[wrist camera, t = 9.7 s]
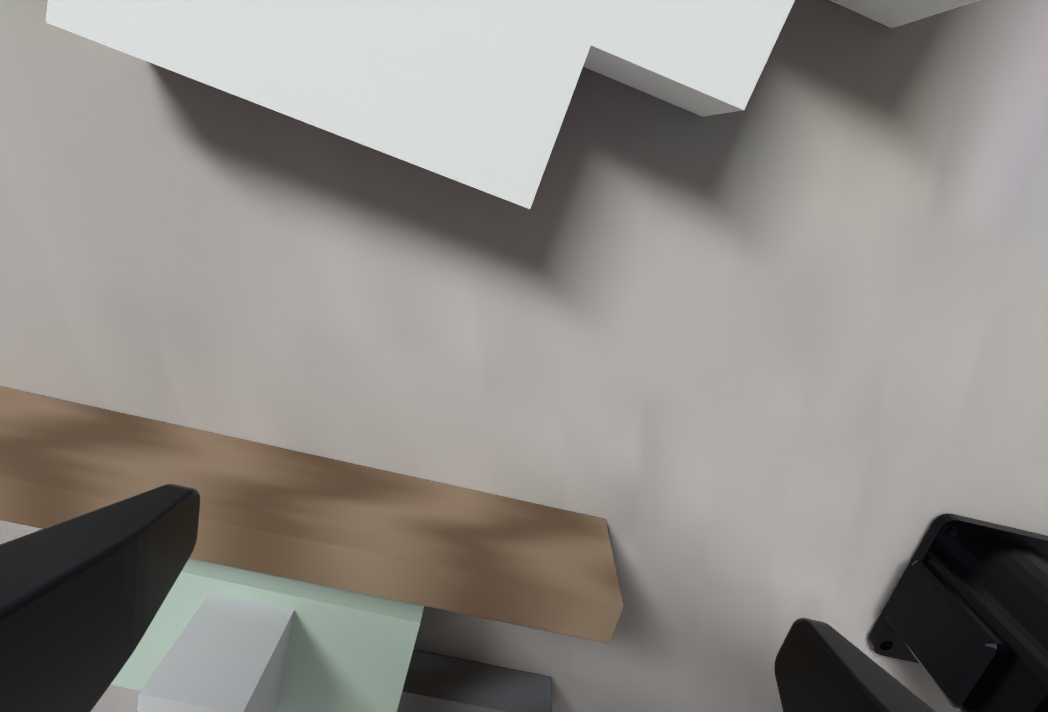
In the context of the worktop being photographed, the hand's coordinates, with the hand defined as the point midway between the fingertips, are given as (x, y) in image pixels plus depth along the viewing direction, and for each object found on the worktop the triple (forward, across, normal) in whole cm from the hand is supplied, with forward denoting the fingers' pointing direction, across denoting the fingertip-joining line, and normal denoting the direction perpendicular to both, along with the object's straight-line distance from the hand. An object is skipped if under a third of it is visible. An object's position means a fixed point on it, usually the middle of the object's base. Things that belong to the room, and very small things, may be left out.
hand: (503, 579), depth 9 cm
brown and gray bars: (+12, +6, +11) cm, 17 cm away
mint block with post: (+12, +6, +10) cm, 17 cm away
